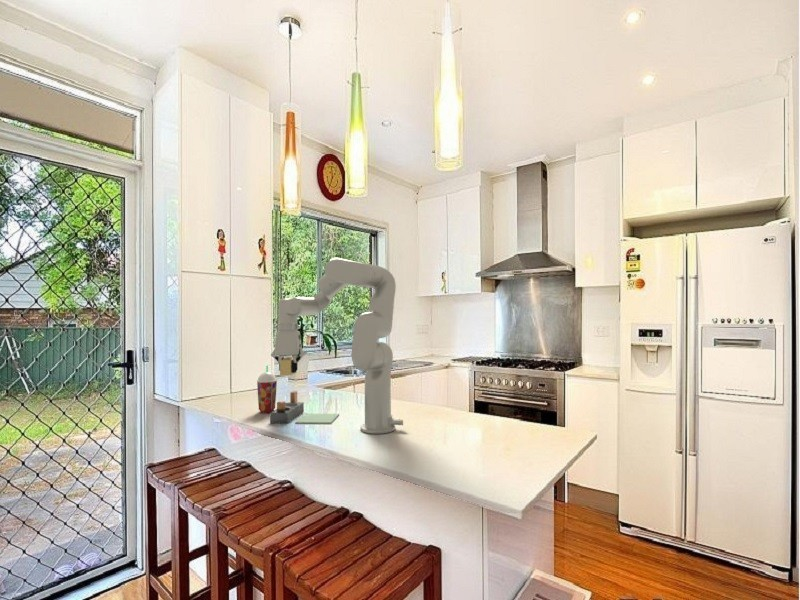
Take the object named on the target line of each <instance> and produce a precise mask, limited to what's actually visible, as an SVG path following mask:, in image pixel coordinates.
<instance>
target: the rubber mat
mask: <svg viewBox="0 0 800 600" xmlns="http://www.w3.org/2000/svg"><path fill="white" fill-rule="evenodd" d="M339 416H340V413H305V414H304V415H303V416H301V417H300V418H299V419H297V420H296V421H295V424H297V425H302V424H303V425H304V424H305V425H312V424H314V425H332V424H333V423H334V422H335V420H336V419H337V418H338V417H339Z"/></svg>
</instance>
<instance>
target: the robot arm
mask: <svg viewBox="0 0 800 600" xmlns="http://www.w3.org/2000/svg"><path fill="white" fill-rule="evenodd" d="M349 285H352V286H355V287H362V288H369V289H370V288H371V289H374V291H373V294H372V296H371V299H370V308H369V311H368V312H367V311H366V312H363V313H361V314H360V315H358V317H357V318H356V320H355V322H354V324H353V333H352V334H353V335H352V344H351V345H352V346H351V361H352V365H354V368H355V369H357V370H359V371H362V372H365V374H364V423H363V424H362V425H360V431H361V432H363V433H365V434H373V435H374V434H375V435H379V434H380V435H382V434H389V433H392V432H393V431H395V430H396V426H403V425H404V419H401V418H394V417H393V414H392V409H391V408H392V406H391V405H392V399H391V398H392V395H391V392H392V391H391V387H392V382H391V381H392V365H393V360H394V355H393V350H392V348H391V346H390V345H389V344H388V343H386V342H383V341H378V339H384V338H386V337H388V336H390V334H391V332H392V328H393V319H394V308H395V307H394V306H395V295H396V287H397V286H396V285H397V284H396V280H395V277H394V275H393V274H392V273H391V271H389V270H388V269H386V268H384V266H383V267H382V266H379V265H376V264H369V263H366V262H361V261H360V262H359V261H353V260H348V259H344V258H340V257H334V258H332V259H329V260H328V261H327V262H326V264H325V267H324V275H322V277H320V278H319V279H318V282H317V286H318V288H319V291H318V292H317V294H315V295H313V296H312V297H306V296H295V297H292V298H291V297H290V298H280V299H279V300H278V331H277V332H276V336H275V345H274V346H275V347H274V349H273V351H272V353H271V354H270V355H271V356H270V357H272V358H273V359H275V360H276V362H277V364H278V366H279V367H278V371H279V372H280V360H283V358H285V357H288V356H289V357H290V356H292V359H293V364H292V369H293V373H295V372H296V371H298V363H299V361H300V360H301V359H302V358H303V357H305V356H306V353H305V351H304V349H303V348H302V337H301V331H299V329H301V327H302V326H301V325H300V324H298V317H300V316H301V317H302V316H315V315H317V314H319V313H321V312H322V311H324V310H325V309H327V308H328V307H329V305H331V303H332V301H333V298H334V296H336V295H337V294H338V293H339V292H341V291H342V290H343V289H344V288H346V287H347V286H349ZM295 374H296V373H295Z"/></svg>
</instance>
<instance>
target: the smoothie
mask: <svg viewBox="0 0 800 600" xmlns="http://www.w3.org/2000/svg"><path fill="white" fill-rule="evenodd" d="M265 367H266V368H265V370H266V371H264V372H263V373H261V374H260V375H259V377H258V378H257V380H256V381H257V383H256V387H257V404H258V411H259V413H260V414H270V413H271V412H273V411H274V410H276V403H277V402H276V400H277V385H278V379H277V378H276V375H275V374H274V373H272V372H271V371H269V365H266V366H265Z"/></svg>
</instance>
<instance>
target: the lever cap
mask: <svg viewBox="0 0 800 600" xmlns="http://www.w3.org/2000/svg"><path fill="white" fill-rule="evenodd" d="M292 364H293V357H290V356H289V357H288V356H285V357H284V358H283V360H280V371H279V376H292V375H295V374H297V373H298V372H297V371H298V370H297V371H296V372H295V373H293V369H292Z"/></svg>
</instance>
